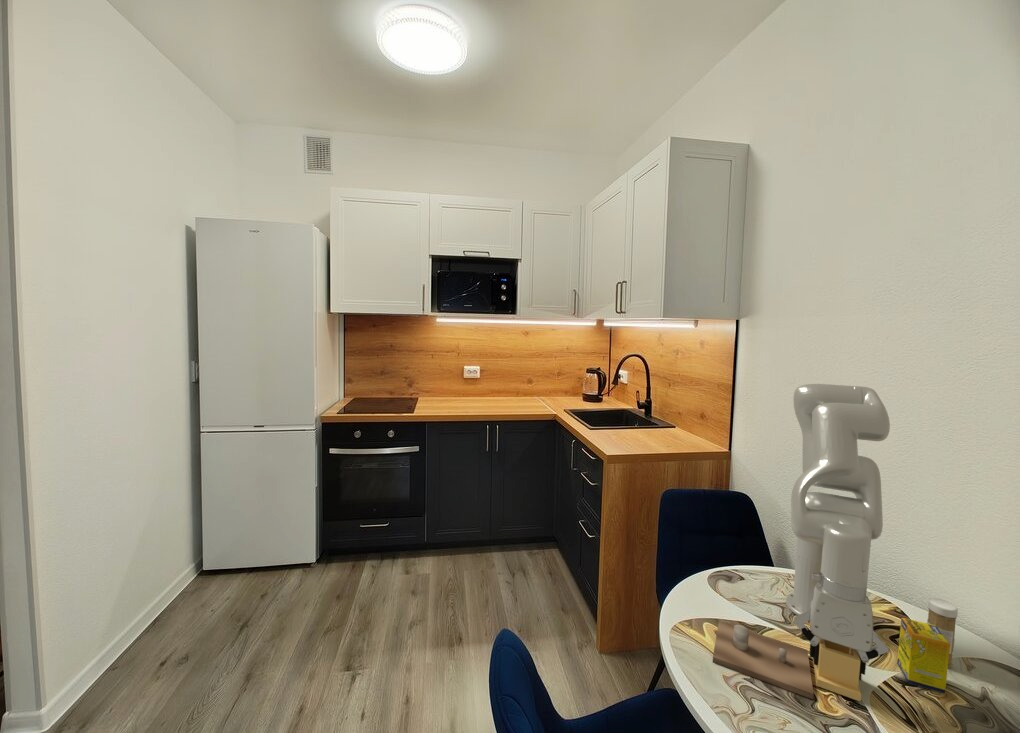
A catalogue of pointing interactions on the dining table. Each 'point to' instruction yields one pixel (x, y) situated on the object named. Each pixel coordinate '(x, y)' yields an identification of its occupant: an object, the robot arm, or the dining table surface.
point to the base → (763, 658)
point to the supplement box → (923, 655)
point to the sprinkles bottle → (943, 620)
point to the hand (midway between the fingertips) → (836, 667)
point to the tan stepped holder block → (838, 669)
